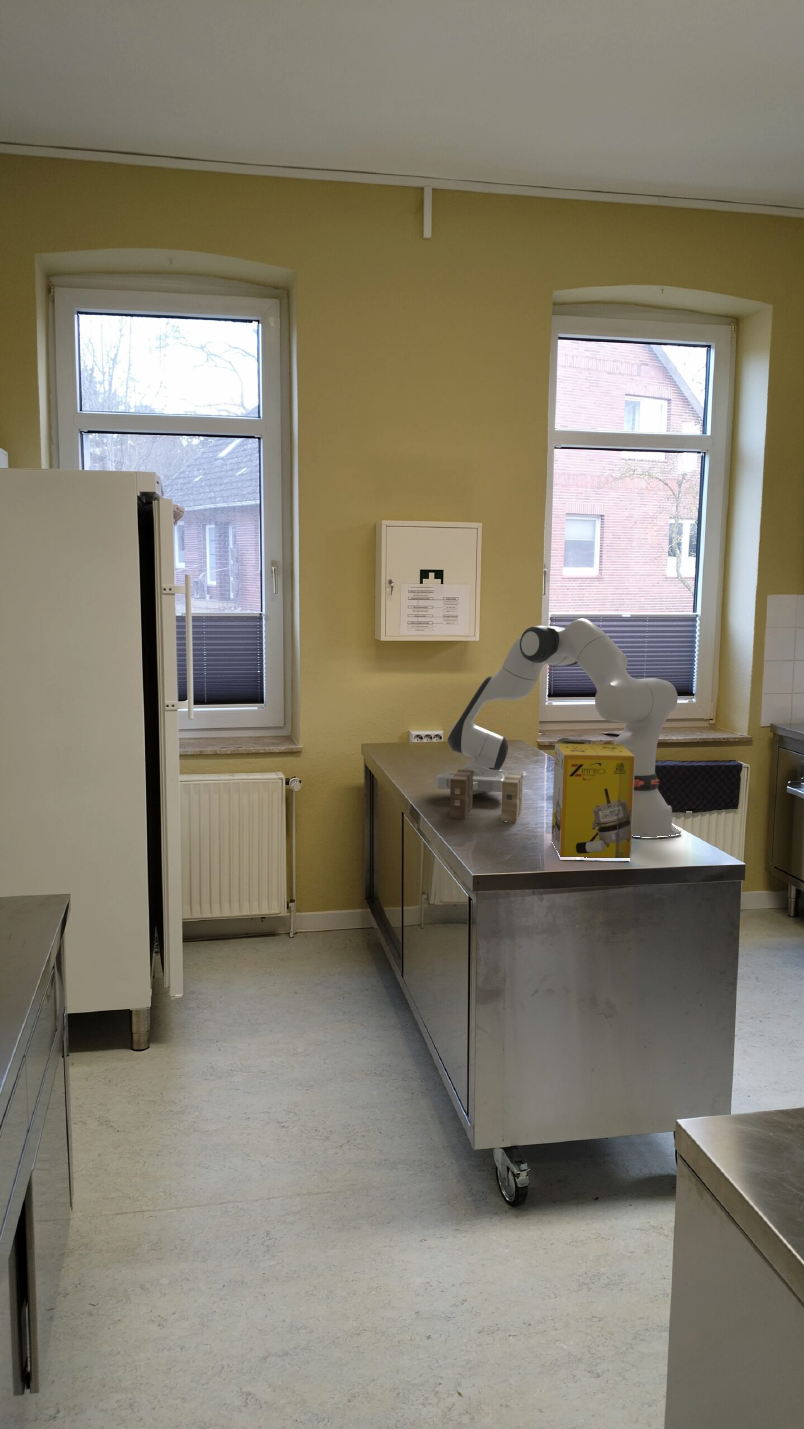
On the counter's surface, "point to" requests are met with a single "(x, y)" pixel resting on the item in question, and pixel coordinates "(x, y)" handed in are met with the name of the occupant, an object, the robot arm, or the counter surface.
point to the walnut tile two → (461, 794)
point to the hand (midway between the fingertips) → (467, 787)
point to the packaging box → (593, 800)
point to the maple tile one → (511, 797)
